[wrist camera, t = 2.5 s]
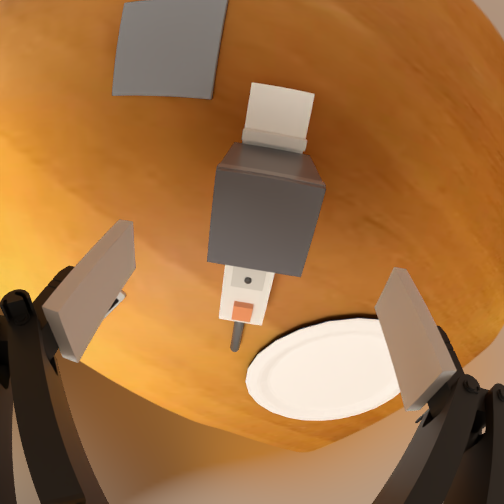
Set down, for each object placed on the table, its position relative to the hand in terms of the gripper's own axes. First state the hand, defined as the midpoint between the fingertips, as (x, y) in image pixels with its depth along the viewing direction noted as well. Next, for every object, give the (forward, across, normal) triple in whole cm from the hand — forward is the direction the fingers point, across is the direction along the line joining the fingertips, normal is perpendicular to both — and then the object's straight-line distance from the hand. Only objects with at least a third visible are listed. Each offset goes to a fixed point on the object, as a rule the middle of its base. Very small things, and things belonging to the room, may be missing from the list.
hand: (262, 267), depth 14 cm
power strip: (+16, 0, -8) cm, 18 cm away
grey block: (+12, 0, 0) cm, 12 cm away
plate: (+17, +17, -30) cm, 38 cm away
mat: (+16, -11, +11) cm, 22 cm away
